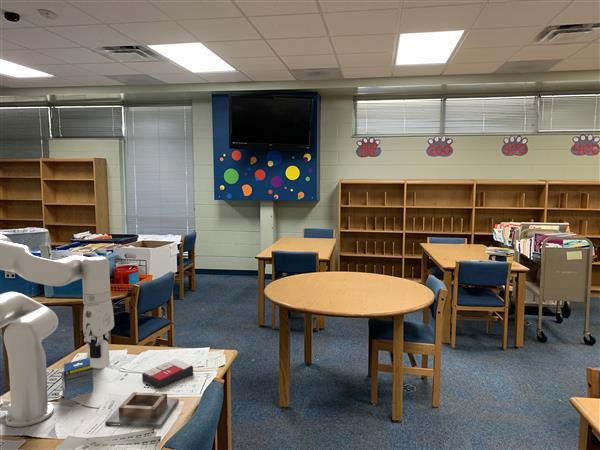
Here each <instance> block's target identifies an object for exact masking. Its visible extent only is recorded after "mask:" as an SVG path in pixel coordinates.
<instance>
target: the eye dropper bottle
mask: <svg viewBox="0 0 600 450" xmlns="http://www.w3.org/2000/svg"><path fill="white" fill-rule="evenodd" d="M94 340H95V341H96V338H94ZM99 345H101V358H90V366H91V367H93V368H92V369H105V368H108V367H109V366H110V365H111V364H110V344H109V341H108V342H107V341H106V340H104V339H103V335H102V336H100V337H99Z"/></svg>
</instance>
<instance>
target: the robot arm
mask: <svg viewBox="0 0 600 450" xmlns="http://www.w3.org/2000/svg"><path fill="white" fill-rule="evenodd" d="M0 271H3V272H4V271H5V272H10V273H14V274H17V275H18V276H19V277H21V278H22V279H24V280H26V281H28V282H31V283H35V284H40V285H46V286H49V287H64V286H66V285H70V284H71V283H72V282H75V281H79V280H80V279H82V281H81V283H82V299H83V310H82V331H83V336H84V339H83V342H84V343H86V344H87V343H88V346H90V358H101V345H99V337H100V336H102V335H103V339H104V340H106V341H107V342H108V343H109V338H110V334H109V333H110V332H111V330H113V329H114V327H115V316H114V315H115V314H114V308H113V302H112V298H111V297H112V296H111V279H110V276H111V275H110V273H111V271H110V260H109V258H107V257H106V256H91V257H88V256H83V255H82V256H81V255H70V256H66V257H64V258H60V259H57V260H53V259H49V258H44V257H40V256H36V255H33V254H32V250H31V248H30V247H29V246H27V245H25V244H19V243H16V242H15V243H14V242H13V241H12V240H11V239H10V238H9V237H7V236H5V235H4V234H0ZM6 326H7V327H6ZM58 326H59V318H58V316H57V314H56V312H54V310H52V309H51V308H49V307H47V306H46V305H44V304H42V303H40V302H38V301H36V300H35V299H32V298H31V297H29V296H27V295H25V294H23V293H20V292H16V291H7V292H3V293H0V329H1V328H3V327H6V328H5V330H4V332H3V342H4V346H5V347H4V348H5V349H6V353H7V354H6V355H7V361H8V373H9V374H8V375H9V393H10V395H9V396H10V400H8V399H6V400H4V401H3V402H2V405H1V406H0V411H7V414H6V416H5V424H6V425H7V426H9V427H15V428H22V427H27V426H28V427H29V426H31V425H35V424H38V423H41V422H43V421H44V420H46V419H48V418H49V417H50V416H51V415H53V413H54V410H55V406H54V404H53V403H50V402H49V400H48V399H49V398H48V395H49V393H48V377H47V376H48V374H47V373H48V372H47V357H46V352H45V349H44V348H43V345H42V341H44V340H45V339H46V338H47V337H49V336H50V335H52V334H53V333H54V332H55V331H56V330H57V328H58ZM92 334H93V335H92ZM92 338H96V341H95V340H94V339H92Z"/></svg>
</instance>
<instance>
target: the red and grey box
mask: <svg viewBox="0 0 600 450" xmlns="http://www.w3.org/2000/svg"><path fill="white" fill-rule="evenodd" d="M193 375H194V366H193V365H191V364H189V363H186V362H185V361H183V360H180V359H177V358H174V359H172V360H169V361H168V362H167V361H165V362H164V363H161V364H159V365H156V366H155V367H152V368H150V369H147V370H146V371H144V372H142V374H141V376H142V381H143V382H144V383H146V384H148V385H150V386H152V387H154V388H156V389H158V390H161V389H164V388H167V387H168V386H170V385H173V384H175V383H177V382H179V381H181V380H183V379H187V378H189V377H191V376H193Z"/></svg>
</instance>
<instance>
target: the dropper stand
mask: <svg viewBox="0 0 600 450" xmlns="http://www.w3.org/2000/svg"><path fill="white" fill-rule="evenodd" d="M178 403H179V398H176V397H175V398H171V397H168V393H157V392H136V391H134V392H133V391H132V393H130V395H129V396H128V397H127V398H126V399H125V400H124V401H123V402H122V403H121V404H120V405H119V407H118V408H116V409H115V410H114V412H113V413H112V414H111V415H109V417H108V418H106V420H105V422H104V425H105V424H120V425H119V426H123V425H127V426H128V427H143V428H144V427H145V428H147V427H148V428H161V427H162V426H163V424H164V423H165V422H166V420H167V419H168V418H169V416H170V415H171V413H172V412H173V411H174V409H175V407H176V406H177V404H178Z"/></svg>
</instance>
